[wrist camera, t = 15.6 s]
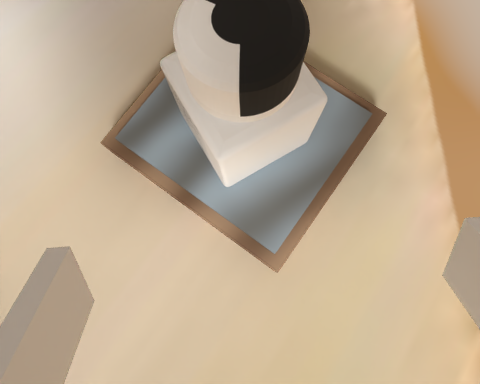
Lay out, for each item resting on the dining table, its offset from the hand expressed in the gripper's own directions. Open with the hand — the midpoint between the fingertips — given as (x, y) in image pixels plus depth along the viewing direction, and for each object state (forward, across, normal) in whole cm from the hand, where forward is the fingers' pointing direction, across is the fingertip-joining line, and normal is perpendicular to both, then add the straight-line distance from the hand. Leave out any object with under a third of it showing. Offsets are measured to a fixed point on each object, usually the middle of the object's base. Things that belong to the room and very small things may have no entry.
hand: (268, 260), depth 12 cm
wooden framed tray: (+20, 0, -5) cm, 21 cm away
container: (+18, 0, -3) cm, 18 cm away
